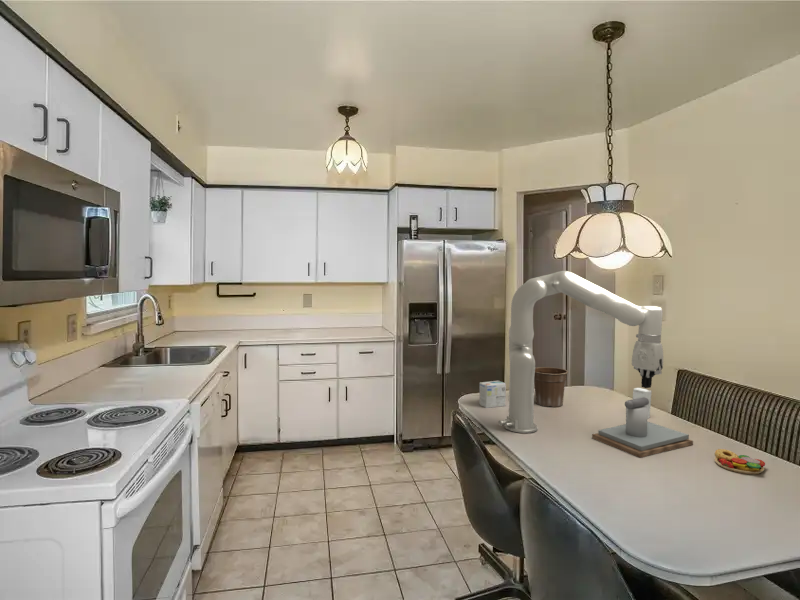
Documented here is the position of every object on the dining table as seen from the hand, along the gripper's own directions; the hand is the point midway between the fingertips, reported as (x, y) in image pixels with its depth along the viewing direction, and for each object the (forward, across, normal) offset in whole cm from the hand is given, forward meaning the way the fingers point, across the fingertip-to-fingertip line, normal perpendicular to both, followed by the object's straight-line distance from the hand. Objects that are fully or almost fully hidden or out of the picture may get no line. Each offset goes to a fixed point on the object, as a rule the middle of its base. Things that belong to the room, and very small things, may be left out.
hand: (646, 387), depth 172 cm
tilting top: (+17, +3, -4) cm, 18 cm away
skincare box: (+19, -17, +21) cm, 33 cm away
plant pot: (+20, -49, -1) cm, 53 cm away
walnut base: (+19, +3, -5) cm, 20 cm away
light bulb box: (+21, -58, -27) cm, 67 cm away
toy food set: (+19, +31, +4) cm, 37 cm away
